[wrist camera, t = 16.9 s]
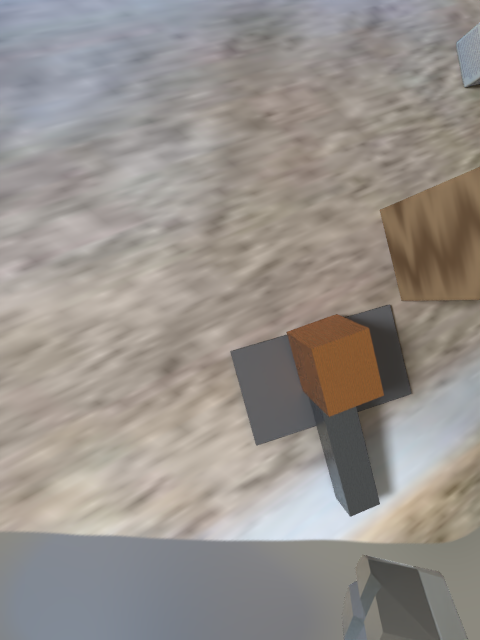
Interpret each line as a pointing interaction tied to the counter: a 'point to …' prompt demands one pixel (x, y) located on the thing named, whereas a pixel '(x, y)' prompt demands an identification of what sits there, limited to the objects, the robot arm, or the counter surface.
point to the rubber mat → (284, 384)
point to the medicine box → (470, 56)
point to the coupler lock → (340, 400)
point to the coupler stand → (437, 241)
